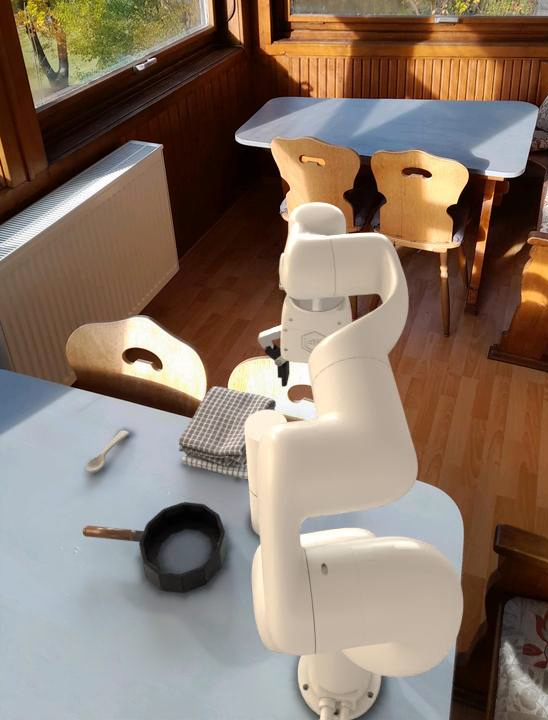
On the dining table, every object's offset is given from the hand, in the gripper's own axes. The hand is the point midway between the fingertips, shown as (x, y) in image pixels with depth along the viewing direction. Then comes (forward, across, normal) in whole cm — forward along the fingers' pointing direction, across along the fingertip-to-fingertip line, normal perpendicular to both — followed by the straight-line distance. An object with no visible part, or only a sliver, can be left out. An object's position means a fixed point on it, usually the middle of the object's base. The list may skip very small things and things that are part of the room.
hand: (317, 382), depth 100 cm
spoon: (+38, -45, +15) cm, 61 cm away
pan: (+38, -29, -5) cm, 48 cm away
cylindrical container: (+38, -9, +3) cm, 40 cm away
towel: (+38, -21, +21) cm, 49 cm away
